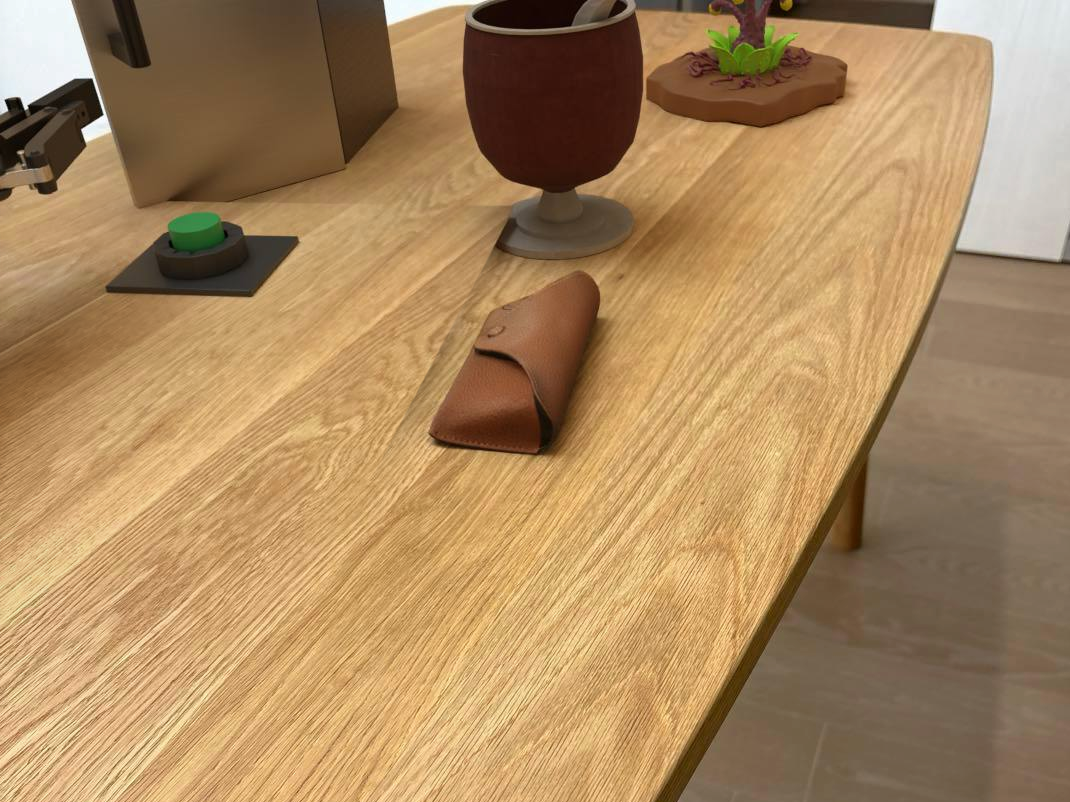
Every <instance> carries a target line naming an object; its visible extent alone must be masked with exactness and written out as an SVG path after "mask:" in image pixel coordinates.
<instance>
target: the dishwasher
mask: <svg viewBox="0 0 1070 802" xmlns="http://www.w3.org/2000/svg"><path fill="white" fill-rule="evenodd" d="M316 2H317V7H318V13H319V19H320V24H321V30H322V36H323V41H324V47H325V53H326V58H327V64H328V70H329V75H330V81H331V87H332V92H333V98H334V104H335V109H336V115H337V120H338V126H339V132H340V137H341V143H342V149H343V154H344V160H345V166H346V165H348V164H349V163H350V162H351V160H352V159H353V158H354V157H355V156H356V155H357V154H358V153H359V151H361V149H362V148H363V147H364V146H365V145H366V144H367V143H368V142H369V141H370V139H371V138H372V137H373V136H374V135H375V134H376V133H377V132H378V131H379V129H380V128H382V126H383V125H384V124H385V123H386V122H387V121H388V120H389V119H390V117H391V116H392V115H393V114H394V113H395V112H396V110H398V109H399V107H400V106H399V99H398V93H397V84H396V77H395V70H394V64H393V57H392V50H391V42H390V36H389V35H390V33H389V28H388V20H387V12H386V6H385V0H316Z"/></svg>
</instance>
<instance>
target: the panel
mask: <svg viewBox="0 0 1070 802" xmlns="http://www.w3.org/2000/svg"><path fill="white" fill-rule="evenodd" d="M221 223H222V227H223V231H224V235H225V240H224V241H223V242H222V243H220V244H218V245H216V246H213V247H211V248H207V249H202V250H196V251H178V250H175V249H174V248H173V244H172V241H171V237H170V234H169V230H168V231H166V232H163V233H162V234H161V235H159V237H158V238H156V239H155V240H154V241H153V242H152V244H150V245H149V246H148V247H147V248H146V249H145V250H144V251H143V252H142V253H140V254H139V255H138V256H137V257H136V258H135V259H134V260H132V262H131V263H129V264H128V265H127V266H126V267H125V268H124V269H122V270H121V272H119V273H118V274H117V275H116V276H114V278H113V279H111V280H110V281H109V282H108V283H107V284H106V285H105V291H106V293H109V294H135V295H136V294H137V295H138V294H141V295H170V296H172V295H173V296H176V295H177V296H203V297H206V296H207V297H232V298H233V297H237V298H239V297H240V298H252V297H254V295H255V294H256V293H257V291H258V290H260V288H261V287H262V286H263V285H264V283H265V282H266V281H268V279H269V278H270V277H271V276H272V274H273V273H274V272H275V271H276V270H277V269H278V267H279V266H280V265H281V264H282V263H283V261H285V259H286V258H287V257H288V256H289V255H290V253H291V252H292V251H294V249H295V248H296V247H297V246H298V244H300V239H299V236H298V235H258V234H257V235H255V234H253V235H252V234H245V232H244V230H243V227H242V226H241V225H239V224H236V223H233V222H230V221H227V220H221Z"/></svg>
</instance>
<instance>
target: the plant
mask: <svg viewBox="0 0 1070 802" xmlns="http://www.w3.org/2000/svg"><path fill="white" fill-rule="evenodd" d="M731 1H732V2H731ZM731 1H727V0H713V1H711V3H709V6H708V11H709V14H710V15H712V16H714V17H716V16H718V15H719V14H721V12H722V7H724V8H726V9H727V10H729V11H730V13H731V14H732V15H733V16H734V18H735V19H736V21H737V23H738V24H739V28H738V27H736V26H734V25H732V24H730V25H729V26H728V28H727V36H726V35H724V34H723V33H721V32H719V31H716V30H713V29H709V28H707V29H706V30H705V34H706V35H707V36H708V37H709V38H710V40H711V41H712V43H713V44H712V43H710V44H708V47H706V48H703V49H701V50H699V51H696V52H694V51H688V52H685V53H684V54H682V55H680V56H677V57H676V58H674V59H673V60H671V61H670V62H665V63H663V64H661V65H658V66H657V67H655V68H654V69H653V71H652V72H651V73H650V74H648V76H646V80H645V98H646V100H647V101H649V102H651V103H653V104H656V105H658V106H659V107H661V108H662V110H664V111H665V112H668V113H670V114H672V115H676V116H679V117H680V116H681V117H685V118H690V119H692V120H693V119H694V120H698V121H702V122H707V123H708V122H710V123H713V122H729V123H730V122H731V123H739V124H743V125H749V126H755V127H760V128H761V127H765V126H769V125H773V124H778V123H780V122H782V121H784V120H786V119H788V118H792V117H795V116H800V115H802V114H805V113H807V112H809V111H812V110H813V109H815V108H817V107H819V106H823V105H830V104H833V103H835V102H836V99H838V98H841V97H843V96H844V95H845V91H846V83H847V76H848V67H849V66H848V64H847V63H846V61H844V60H842V59H840V58H838V57H836V56H832V55H828V54H822V53H817V52H813V51H809V50H807V49H805V48H804V47H798V46H794V45H789V44H791V42H792V41H795V39H796V38H798V37H799V35H800V32H799V31H797V32H792V33H788V34H786V35H782V36H780V37H779V38H777V39H775V40H774V41H773V39H774V35H775V32H776V26H775V25H774V24H771V25H769V26H767V23H766V19H767V15H768V13H769V8H770V6H771V4H772V2H773V0H764V1H763V4H762V5H760V9H759V11H758V13H757V9H756V0H746V1H745V0H731ZM744 1H745V5H746V7H745V9H744V10H745V14H743V12H742V11H741V10H740V9H739V8H738V7H737V6H736V5H741V4H743V3H744ZM779 5H780V8H781V9H782V10H784V11H786V12H788V11H789V10H790V9H792V7H793V0H779ZM756 13H757V14H756ZM766 26H767V27H766Z"/></svg>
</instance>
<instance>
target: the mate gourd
mask: <svg viewBox="0 0 1070 802" xmlns="http://www.w3.org/2000/svg"><path fill="white" fill-rule="evenodd" d="M636 8H637V5H636V1H635V0H484V1H481V2H478V3H477V4H474V5H473V6H471V7H470V8H468V9H467V10H466V11H465V13H464V21H465V26H464V34H463V48H462V54H463V55H462V79H463V88H464V99H465V105H466V106H465V107H466V110H467V114H468V118H469V122H470V126H471V130H472V134H473V136H474V138H475V139H474V140H475V141H476V142H475V143H476V144H477V147H478V150H479V151H480V153H481V154H482V155H483V157H484V158H485V159H486V160H487V161H488V162H489V164H490V165H491V166H492V167H493V168H494V169H495V171H497V173H498V174H499V175H500V176H501V177H502V178H503V179H505V180H508V181H510V182H512V183H515V184H519V185H523V186H525V187H526V186H527V187H531V188H535V189H540V190H542V193H541V195H539V196H533V197H529V198H526V199H522V200H520V201H516V202H513V203H511V204H510V205H508V207H513V209H512V211H511V213H510V215H509V217H508V219H507V221H506V222H505V225H504V226H503V228H502V230H501V232H500V234H499V236H498V238H497V240H496V241H495V243H494V246H495V247H497V249H500V250H502V251H503V252H505V253H509V254H511V255H514V256H518V257H523V258H527V259H536V260H568V259H576V258H583V257H588V256H592V255H596V254H600V253H603V252H606V251H609V250H611V249H613V248H615V247H617V246H619V245H621V244H622V243H624V242H625V241H626V240H627V239H629V237H630V236H631V235H632V233H633V230H634V227H635V225H634V224H635V223H634V222H635V221H634V215H633V212H632V211H631V210H630V208H629V207H628V206H626V205H624V204H623V203H621V202H620V201H617V200H615V199H613V198H612V199H611V198H608V197H605V196H601V195H600V196H599V195H596V194H595V195H594V194H587V193H577V190H576V188H579V187H580V186H584V185H586V184H589V183H591V182H594V181H596V180H599V179H601V178H603V177H605V176H608V175H609V174H611V172H613V171H614V170H615V169H616V168H617V167H618V165H619V163H620V162H621V161H622V159H623V158H624V157H625V155H626V154H627V152H628V151H629V149H630V148H631V146H632V145H633V143H634V142H635V138H636V136H637V135H636V134H637V131H638V126H639V122H640V117H641V111H642V101H643V94H644V53H643V47H642V38H641V33H640V26H639V22H638V18H637V13H636Z"/></svg>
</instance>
